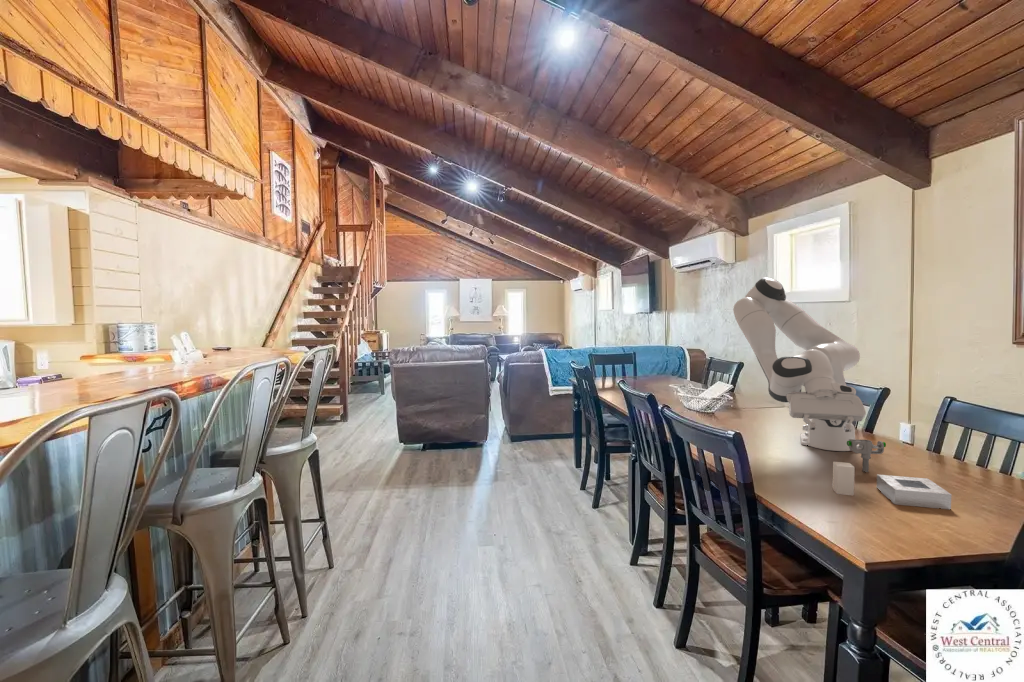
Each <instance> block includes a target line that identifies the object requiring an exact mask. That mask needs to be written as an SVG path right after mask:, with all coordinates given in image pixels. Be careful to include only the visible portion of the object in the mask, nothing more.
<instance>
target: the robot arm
mask: <svg viewBox="0 0 1024 682" xmlns="http://www.w3.org/2000/svg"><path fill="white" fill-rule="evenodd" d="M785 292H786V291H785V289H784V286H783V285H782V284H781V282H780V281H778V280H777V279H775V278H773V277H769V276H767V277H766V276H765V277H762V278H760V279H759V280H757V281H756V282H755V284H754V286H753V287H751V288H750V290H749V291H748V292H747V293H746V294H745V296H744V297H742V298H740V299H739V300H737V301H736V303H734V305H733V307H732V308H733V309H732V310H733V314H734V315H733V316H734V317H735V320H736V323H737V324H738V327H739V328H740V330H741V332H742V333H743V335H744V337H745V338H746V340H747V342H748V343H749V346H750V347H751V350H752V351H753V352H754V355H755V357H756V359H757V362H758V364H759V365H760V367H761V370H762V371H763V373H764V376H765V377H766V379H767V382H768V388H767V389H768V394H769V395H770V397H771V398H772V399H774V400H776V401H778V402H781V403H789V404H788V413H789V416H790V417H791V418H793V419H802V421H803V422H804V423H805V424H802V431H803V432H805V433H800V444H801V445H803V446H807V445H808V446H809V447H811V448H816V449H820V450H825V451H833V452H849V451H851V450H850V449H849V446H848V445H847V441H849V439H854V440H856V431H855V425H854V424H853V422H862V421H863V420H864V419H865V417H866V413H867V412H866V409H865V406H864V404H863V401H862V400H861V398H860V397H859V396H858V395H856V394H857V389H856V388H854V387H852V386H850V385H847V383H846V380H845V375H844V371H848V370H850V369H852V368H853V367H855V366H856V365H857V364H858V363H859V361H860V358H861V354H860V351H859V349H858V348H857V347H856V346H855V345H853V344H851V343H849V342H847V341H845V340H843V339H842V338H841V337H839V336H838V335H836V334H835V333H833V332H831V331H829V330H828V329H827V328H825V327H824V326H823V325H821V324H820V323H818V322H817V321H816V320H815V319H814V318H813V317H812V316H810V315H809V314H808V313H807V312H806V311H805V310H804V309H802V308H801V307H800V306H799V305H797V304H796V303H795V302H792V301H791V300H789V299H788V298H787V295H786V293H785ZM776 327H777V328H778V329H779V330H780V331H781V332H782V333H783V334H784V335H785V336H786V337H787V338H788V339H789V340H790V341H791V342H792V343H793V344H795V345H796V346H797V347H798V348H801V349H803V350H805V351H803V352H801V353H800V354H798V355H793V356H782V357H778V355H777V352H776V351H777V350H776V335H777V334H776V333H777V332H776V331H777V330H776ZM802 387H804V391H802ZM808 446H807V447H808ZM857 447H859V444H858V445H857Z"/></svg>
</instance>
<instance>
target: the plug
mask: <svg viewBox="0 0 1024 682" xmlns="http://www.w3.org/2000/svg"><path fill="white" fill-rule="evenodd" d="M832 462H833V463H832V490H833V491H834V493H836V495H844V496H846V495H847V496H854V495H855V489H854V488H855V470H856V469H855V466H854V465H853V464H851V463H850V462H844V461H843V462H841V461H832Z"/></svg>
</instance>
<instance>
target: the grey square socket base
mask: <svg viewBox="0 0 1024 682" xmlns="http://www.w3.org/2000/svg"><path fill="white" fill-rule="evenodd" d="M877 488H878V489H879V490H880V491H881V492H880V491H879V492H880V493H881V494H882V495H884V496H885V497H886V498H887V499H888V500H889V499H890V500H891V501H890V500H889V501H890V502H891V503H892V504H894V505H900V506H911V507H921V508H931V509H939V508H941V510H950V509H952V495H953V494H952V493H950V492H949V491H948V490H946V489H944V488H943V487H941V486H939V484H937V483H935V482H934V481H933V480H931V479H929V478H925V477H914V476H913V477H911V476H902V475H901V476H899V475H890V474H889V475H887V474H876V489H877ZM878 489H877V490H878Z"/></svg>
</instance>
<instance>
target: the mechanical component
mask: <svg viewBox="0 0 1024 682" xmlns="http://www.w3.org/2000/svg"><path fill="white" fill-rule="evenodd" d="M847 445H848V446H849V449H850V451H852V452H853V453H855V454H860V458H861V459H862V464H861V465H862V466H861V468H862V470H861V471H862V472H864V471H865V472H868V473H869V469H870V468H869V466H870V464H869V463H870V459H872V457H871V455H883V454H884V451H885V448H886V447H887V444H886V442H885V441H881V440H878V441H877V443H876V445H874V444H873V441H872V440H869V439H855V440H854V439H849V441H847ZM857 445H859V447H857ZM873 449H876V450H873ZM865 472H864V473H865Z"/></svg>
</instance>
